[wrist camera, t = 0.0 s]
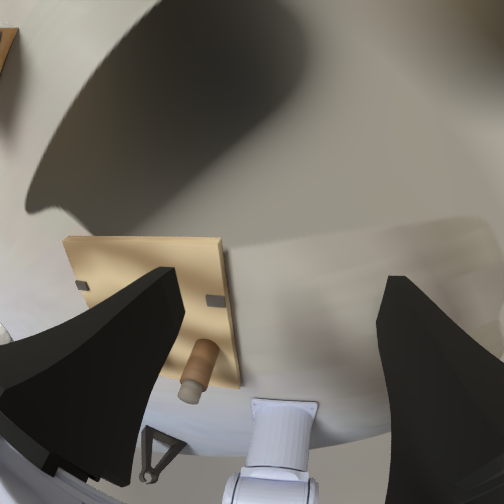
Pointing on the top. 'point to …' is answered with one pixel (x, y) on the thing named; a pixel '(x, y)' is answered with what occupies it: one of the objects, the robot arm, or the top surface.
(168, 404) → the top surface
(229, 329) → the plywood board
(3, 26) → the small box
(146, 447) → the phone stand
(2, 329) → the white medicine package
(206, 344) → the grey-capped wooden dowel
